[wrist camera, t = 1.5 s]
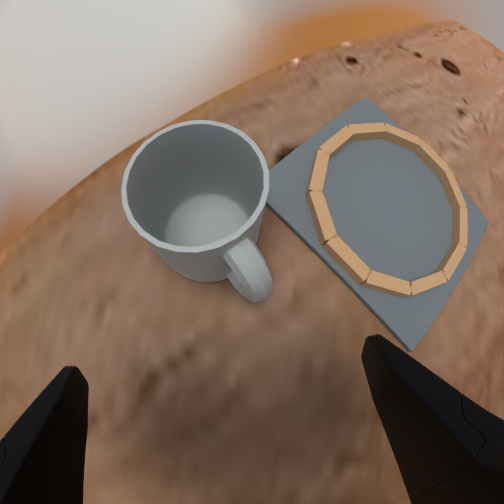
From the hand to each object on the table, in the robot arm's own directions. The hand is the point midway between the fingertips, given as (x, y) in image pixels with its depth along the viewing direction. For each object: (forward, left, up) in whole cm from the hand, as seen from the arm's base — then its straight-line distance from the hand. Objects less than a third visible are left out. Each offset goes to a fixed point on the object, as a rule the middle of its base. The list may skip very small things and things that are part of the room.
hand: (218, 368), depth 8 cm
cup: (+6, -4, -13) cm, 15 cm away
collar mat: (-1, -17, -13) cm, 22 cm away
